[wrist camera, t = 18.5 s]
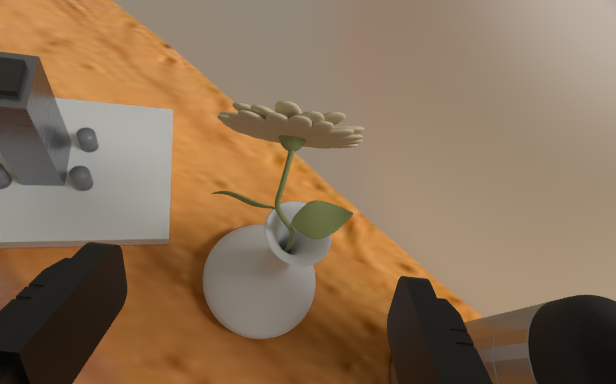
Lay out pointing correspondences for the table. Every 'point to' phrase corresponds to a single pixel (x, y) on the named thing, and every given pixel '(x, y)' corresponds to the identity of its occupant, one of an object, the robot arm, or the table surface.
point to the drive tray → (97, 182)
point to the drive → (31, 123)
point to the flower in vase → (276, 231)
